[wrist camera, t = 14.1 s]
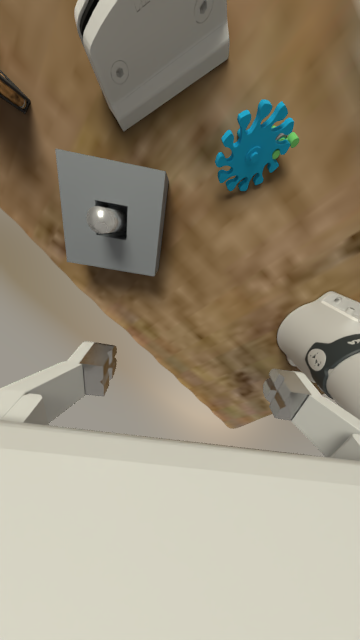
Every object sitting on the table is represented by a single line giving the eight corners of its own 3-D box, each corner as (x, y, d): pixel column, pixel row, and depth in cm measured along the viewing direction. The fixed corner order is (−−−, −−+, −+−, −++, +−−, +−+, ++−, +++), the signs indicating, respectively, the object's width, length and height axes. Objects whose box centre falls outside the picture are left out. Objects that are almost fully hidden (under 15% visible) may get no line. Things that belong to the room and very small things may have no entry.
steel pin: (131, 212, 31) (111, 208, 22) (130, 232, 33) (111, 235, 24) (113, 209, 31) (85, 203, 22) (113, 229, 32) (87, 231, 24)
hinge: (121, 133, 27) (72, 47, 18) (107, 100, 27) (48, -6, 17) (231, 56, 24) (245, -104, 14) (217, 17, 24) (221, -175, 14)
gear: (213, 200, 30) (225, 114, 20) (204, 174, 32) (210, 85, 22) (280, 186, 30) (323, 96, 21) (267, 162, 32) (301, 68, 22)
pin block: (168, 180, 30) (165, 171, 25) (158, 268, 36) (154, 276, 31) (78, 162, 29) (55, 148, 24) (84, 255, 35) (67, 261, 30)
